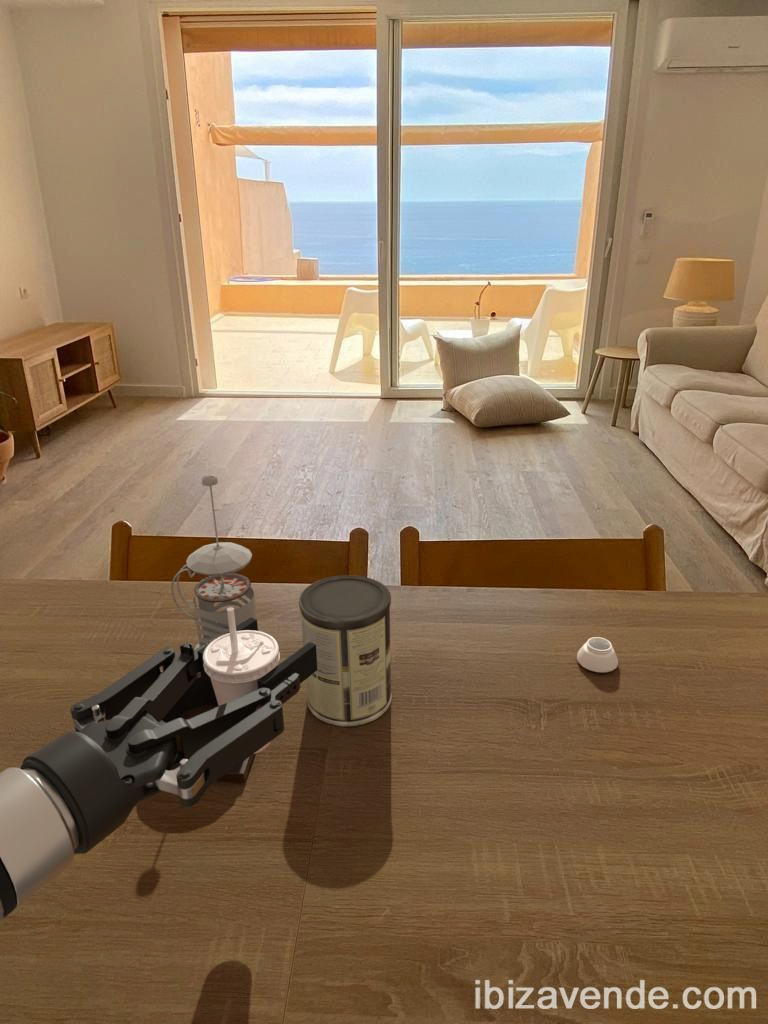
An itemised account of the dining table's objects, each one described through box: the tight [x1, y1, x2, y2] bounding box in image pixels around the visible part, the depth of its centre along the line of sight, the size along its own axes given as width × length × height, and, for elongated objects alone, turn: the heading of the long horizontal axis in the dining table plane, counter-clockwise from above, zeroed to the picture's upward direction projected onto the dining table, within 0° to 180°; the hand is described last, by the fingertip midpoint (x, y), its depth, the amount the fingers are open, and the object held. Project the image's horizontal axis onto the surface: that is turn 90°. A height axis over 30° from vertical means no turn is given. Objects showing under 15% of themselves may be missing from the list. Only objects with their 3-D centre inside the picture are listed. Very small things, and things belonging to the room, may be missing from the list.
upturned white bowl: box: [576, 636, 619, 673], centre depth 89 cm, size 5×3×5 cm
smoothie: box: [203, 606, 281, 755], centre depth 59 cm, size 6×6×14 cm
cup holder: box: [160, 672, 255, 783], centre depth 76 cm, size 12×12×5 cm
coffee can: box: [298, 574, 393, 727], centre depth 80 cm, size 10×10×14 cm
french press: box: [170, 473, 258, 650], centre depth 88 cm, size 10×12×25 cm
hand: (283, 643), depth 63 cm, fingers closed on smoothie, 6 cm apart
